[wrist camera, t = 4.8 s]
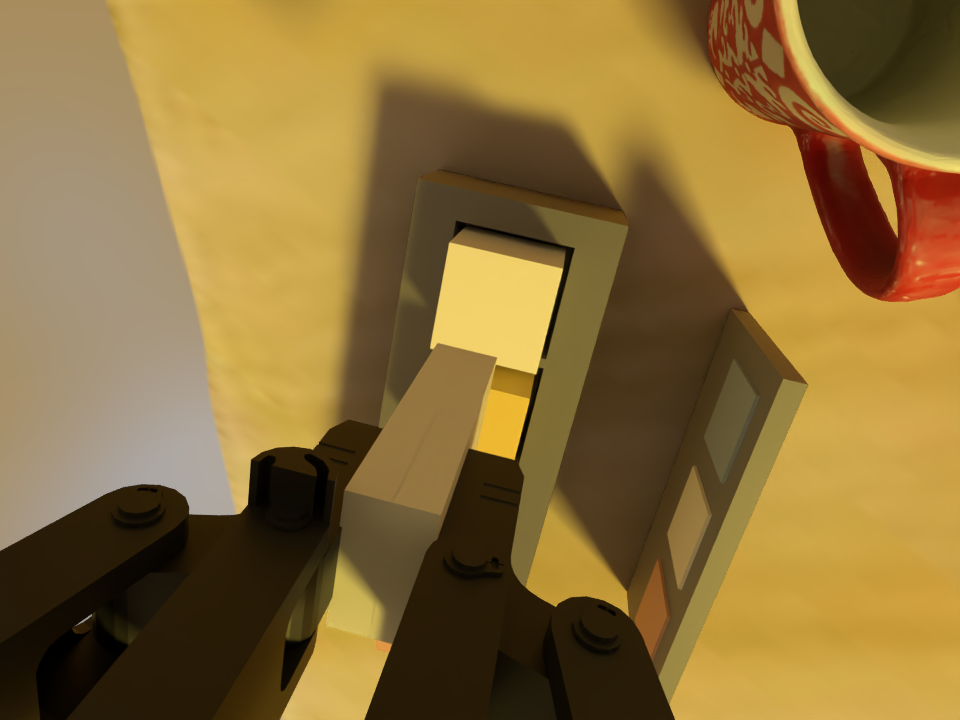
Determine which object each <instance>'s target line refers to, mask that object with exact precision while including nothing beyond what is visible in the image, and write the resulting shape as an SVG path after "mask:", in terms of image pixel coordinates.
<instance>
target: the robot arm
mask: <svg viewBox="0 0 960 720" xmlns="http://www.w3.org/2000/svg"><path fill="white" fill-rule="evenodd" d="M496 361H497V357H494V356H490V355H485V354H481V353H477V352H473V351H469V350H465V349H461V348H457V347H452V346H448V345H444V344H440V343H437V344H436V346H435V348H434V349H433V351H432V352H431V354H430V355H429V357H428V359H427V360H426V362H425V363H424V365H423V367H422V368H421V370H420V371H419V373H418V374H417V376H416V378H415V379H414V381H413V382H412V384H411V386H410V387H409V389H408V390H407V392H406V393H405V395H404V397H403V398H402V400H401V401H400V403H399V404H398V406H397V408H396V409H395V411H394V412H393V414H392V416H391V417H390V419H389V420H388V422H387V423H386V425H385V427H384V428H379V427H375V426H371V425H367V424H363V423H360V422H356V421H352V420H347V421H345V422H343V423H341V424H339V425H337V426H335V427H333V428H331V429H329V431H328V432H327V433H326V434H325V436H324V437H323V438H322V439H321V441H320V442H319V445H317V446H316V447H315V448H314V449H313V450H311V449H307V448H300V447H281V448H274V449H271V450H268V451H264V452H262V453H260V454H259V455H257V456H256V457H254V458H253V459H251V468H250V482H249V497H248V505H247V506H246V508H245V509H244V510H243V511H242V512H241V514H237V515H219V516H218V515H192V514H191V515H190V514H189V505H188V503H187V500H186V498H185V497H184V496H183V495H182V494H180V493H179V492H178V491H176V490H175V489H171V488H168V487H165V486H161V485H147V484H141V485H135V486H128V487H123V488H120V489H118V490H115V491H113V492H110V493H107V494H105V495H103V496H101V497H100V498H98V499H96V500H94V501H92V502H90V503H89V504H87V505H85V506H83V507H81V508H79V509H77V510H75V511H74V512H72V513H70V514H68V515H66V516H64V517H62V518H61V519H59V520H57V521H55V522H53V523H51V524H49V525H48V526H46V527H44V528H42V529H40V530H38V531H37V532H35V533H33V534H31V535H29V536H27V537H25V538H24V539H22V540H20V541H18V542H16V543H14V544H12V545H10V546H9V547H7V548H5V549H3V550H1V551H0V720H280V718H281V716H282V714H283V712H284V710H285V708H286V706H287V704H288V702H289V700H290V698H291V696H292V694H293V692H294V690H295V688H296V686H297V684H298V682H299V680H300V678H301V676H302V674H303V672H304V670H305V668H306V666H307V664H308V662H309V660H310V658H311V656H312V654H313V651H314V647H315V643H316V637H317V630H318V624H319V622H320V620H321V618H322V617H323V615H324V613H325V611H326V609H327V607H328V605H329V607H328V614H327V622H326V626H328V627H332V628H335V629H339V630H343V631H346V632H350V633H353V634H357V635H361V636H364V637H368V638H372V639H375V640H379V641H382V642H386V643H390V644H392V646H391V649H390V651H389V654H388V657H387V660H386V662H385V665H384V668H383V671H382V673H381V676H380V679H379V681H378V684H377V687H376V690H375V692H374V695H373V698H372V701H371V703H370V706H369V709H368V712H367V714H366V717H365V720H675V718H674V716H673V713H672V711H671V708H670V706H669V703H668V700H667V698H666V695H665V693H664V690H663V688H662V685H661V682H660V680H659V677H658V675H657V672H656V670H655V667H654V665H653V662H652V659H651V657H650V654H649V652H648V649H647V647H646V644H645V641H644V639H643V636H642V634H641V633H640V631H639V629H638V628H637V626H636V625H635V623H634V621H633V620H632V619H630V618H629V617H628V616H627V615H626V614H625V613H624V612H623V611H622V610H620V609H619V608H617V607H615V606H613V605H611V604H609V603H607V602H605V601H604V600H599V599H595V598H591V597H587V596H585V597H571V598H569V599H567V600H565V601H563V602H560V603H559V604H558V605H557V607H555V606H553V605H551V604H549V603H548V602H546V601H544V600H542V599H540V598H539V597H537V596H536V595H534V594H533V593H531V592H530V591H529V590H528V589H527V588H526V587H524V586H523V585H522V584H521V583H520V581H519V580H518V578H517V577H516V575H515V574H514V571H513V568H512V565H511V553H512V547H513V541H514V535H515V529H516V524H517V518H518V512H519V505H520V500H521V493H522V488H523V482H524V475H523V473H522V470H521V468H520V466H519V464H518V462H517V460H513V459H509V458H505V457H501V456H497V455H493V454H489V453H485V452H481V451H477V446H478V441H479V437H480V433H481V428H482V424H483V419H484V415H485V410H486V406H487V401H488V397H489V392H490V388H491V384H492V379H493V375H494V370H495V366H496ZM91 614H92V617H90V618H89V619H87V620H86V621H84V622H83V623H81V624H79V625H77V624H78V623H80V622H81V621H82V620H84V619H85V618H87V617H88V616H89V615H91ZM75 625H77V626H75ZM74 626H75V627H74Z"/></svg>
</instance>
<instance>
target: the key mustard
mask: <svg viewBox="0 0 960 720" xmlns="http://www.w3.org/2000/svg"><path fill="white" fill-rule="evenodd" d="M534 376H535V374H532V373H528V372H524V371H520V370H516V369H512V368H508V367H504V366H500V365H496V366H495V370H494V375H493V379H492V384H491V388H490V392H489V397H488V401H487V406H486V410H485V415H484V419H483V424H482V428H481V433H480V437H479V441H478V446H477V451H481V452H485V453H489V454H493V455H497V456H501V457H505V458H509V459H513V460H515V456H516V452H517V448H518V444H519V440H520V436H521V432H522V428H523V425H524V421H525V417H526V413H527V409H528V405H529V401H530V397H531V391H532V386H533V381H534Z"/></svg>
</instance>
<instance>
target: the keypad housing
mask: <svg viewBox="0 0 960 720" xmlns="http://www.w3.org/2000/svg"><path fill="white" fill-rule="evenodd" d="M466 226H470V227H474V228H479V229H483V230H487V231H492V232H496V233H500V234H505V235H509V236H513V237H518V238H522V239H526V240H531V241H535V242H539V243H544V244H548V245H552V246H557V247H561V248H565V249H566V252H565V260H564V267H563V272H562V276H561V280H560V283H559V287H558V291H557V295H556V299H555V303H554V307H553V311H552V315H551V319H550V323H549V327H548V330H547V334H546V338H545V342H544V346H543V350H542V354H541V358H540V362H539V366H538V370H537V374H535V376H534V381H533V386H532V391H531V397H530V401H529V405H528V409H527V413H526V417H525V421H524V425H523V428H522V432H521V436H520V440H519V444H518V448H517V452H516V456H515V460H517V462H518V464H519V466H520V468H521V470H522V473H523V475H524V482H523V488H522V493H521V500H520V505H519V512H518V518H517V524H516V529H515V535H514V541H513V547H512V553H511V565H512V568H513V571H514V574H515V575H516V577H517V578H518V580H519V581H520V583H521V584H522V585H523V586H524V587H525V586H526V583H527V579H528V576H529V572H530V569H531V565H532V562H533V559H534V555H535V552H536V548H537V545H538V541H539V538H540V534H541V531H542V527H543V524H544V520H545V517H546V513H547V510H548V506H549V503H550V500H551V496H552V493H553V489H554V486H555V482H556V479H557V475H558V472H559V468H560V465H561V461H562V458H563V454H564V451H565V447H566V444H567V440H568V437H569V434H570V430H571V427H572V423H573V420H574V416H575V413H576V409H577V406H578V402H579V399H580V395H581V392H582V388H583V385H584V381H585V378H586V374H587V371H588V368H589V364H590V361H591V357H592V354H593V350H594V347H595V343H596V340H597V336H598V333H599V329H600V326H601V322H602V319H603V315H604V312H605V308H606V305H607V302H608V298H609V295H610V291H611V288H612V284H613V281H614V277H615V274H616V270H617V267H618V263H619V260H620V256H621V253H622V249H623V246H624V243H625V239H626V236H627V232H628V229H629V225H628V222H627V220H626V217H625V215H624V212H623V211H621V210H617V209H613V208H608V207H604V206H599V205H595V204H590V203H586V202H582V201H577V200H573V199H568V198H564V197H559V196H555V195H550V194H546V193H542V192H537V191H533V190H528V189H524V188H519V187H515V186H511V185H506V184H502V183H497V182H493V181H488V180H484V179H480V178H475V177H471V176H466V175H462V174H457V173H453V172H449V171H444V170H437V171H435V172H432V173H430V174H427V175H425V176H422V177H420V178H418V179H417V185H416V191H415V198H414V204H413V210H412V217H411V223H410V230H409V236H408V242H407V249H406V255H405V261H404V268H403V274H402V280H401V287H400V293H399V299H398V306H397V312H396V318H395V325H394V331H393V337H392V344H391V350H390V357H389V363H388V369H387V376H386V382H385V388H384V395H383V401H382V407H381V414H380V420H379V426H378V427H379V428H384V427H385V425H386V423H387V422H388V420H389V419H390V417H391V416H392V414H393V412H394V411H395V409H396V408H397V406H398V404H399V403H400V401H401V400H402V398H403V397H404V395H405V393H406V392H407V390H408V389H409V387H410V386H411V384H412V382H413V381H414V379H415V378H416V376H417V374H418V373H419V371H420V370H421V368H422V367H423V365H424V363H425V362H426V360H427V359H428V357H429V355H430V354H431V352H432V351H433V349H430V345H431V340H432V334H433V329H434V324H435V318H436V313H437V307H438V302H439V296H440V291H441V285H442V280H443V274H444V269H445V263H446V258H447V252H448V247H449V242H450V241H451V240H452V239H453V238H454V237H455V236H456V235H457V234H458V233H459V232H460V231H462V230H463V229H464V228H465V227H466Z"/></svg>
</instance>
